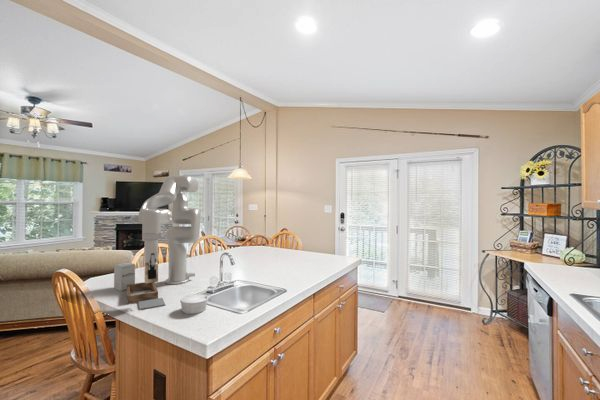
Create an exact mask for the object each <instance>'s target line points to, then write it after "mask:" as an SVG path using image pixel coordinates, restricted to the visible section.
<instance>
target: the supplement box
mask: <svg viewBox="0 0 600 400" xmlns="http://www.w3.org/2000/svg"><path fill="white" fill-rule="evenodd" d="M113 268H114V269H113V272H114V273H113V274H114V275H113V288H114V289H116V290H119V291H124V290H127V285H129V284H136V264H135V263H132V262H124V263H118V264H114V267H113Z"/></svg>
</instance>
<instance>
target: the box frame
mask: <svg viewBox="0 0 600 400" xmlns="http://www.w3.org/2000/svg"><path fill="white" fill-rule="evenodd" d="M155 283H156V282H151V283H145V281H143V282H135V284H129V285H127V289H126V299H127V301H128V302H127V305H129V304H130V303H131V304H136V303H137V304H138V302H139V301H145V300H151V299H157V298H159V291H158V288H157V285H156V284H155ZM143 290H144V291H145V290H151V291H148V292H142V293H137V294H132V293H131V292H138V291H143ZM131 304H130V305H131Z"/></svg>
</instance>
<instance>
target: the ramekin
mask: <svg viewBox="0 0 600 400" xmlns="http://www.w3.org/2000/svg"><path fill="white" fill-rule="evenodd" d="M208 300H209V296H208V295H206V294H203V293H194V294H188V295H185V296H183V297H181V298H180V301H179V302H180V305H181V310H182V312H183V313H184V314H185V315H197V314H201V313H203V312H204V311H205V310H206V309H207V305H208Z"/></svg>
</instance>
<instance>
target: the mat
mask: <svg viewBox="0 0 600 400" xmlns="http://www.w3.org/2000/svg"><path fill="white" fill-rule="evenodd" d="M137 304H138V308H139V311H143V310H147V309H148V310H149V309H154V308H160V307H164V306H165V307H166V302H165V301H164V298H163V297H158V298H157V299H151V300H145V301H139V302H137Z"/></svg>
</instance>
